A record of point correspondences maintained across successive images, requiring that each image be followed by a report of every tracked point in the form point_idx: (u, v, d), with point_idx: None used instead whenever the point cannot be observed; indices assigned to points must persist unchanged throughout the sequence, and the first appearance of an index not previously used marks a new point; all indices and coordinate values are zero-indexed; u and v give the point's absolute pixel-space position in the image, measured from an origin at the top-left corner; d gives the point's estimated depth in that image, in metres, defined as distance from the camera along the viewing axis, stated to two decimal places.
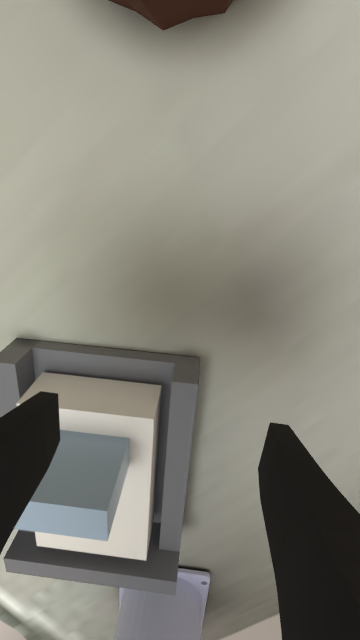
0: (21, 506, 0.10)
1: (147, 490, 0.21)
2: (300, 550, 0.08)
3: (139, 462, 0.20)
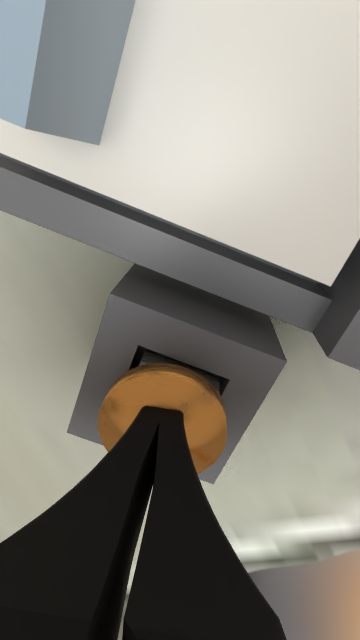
0: (140, 524, 0.10)
1: None
2: None
3: None
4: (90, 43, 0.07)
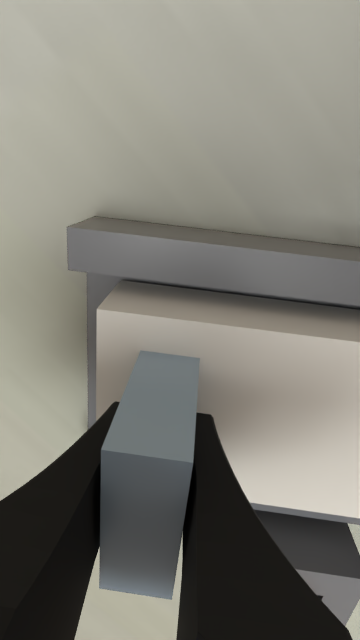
0: None
1: (262, 333, 0.11)
2: (190, 533, 0.08)
3: (194, 341, 0.11)
4: None
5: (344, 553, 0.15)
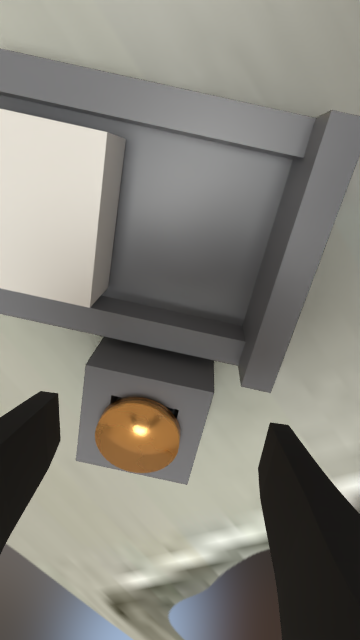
0: (21, 506, 0.10)
1: None
2: (300, 550, 0.08)
3: None
4: None
5: (201, 378, 0.18)
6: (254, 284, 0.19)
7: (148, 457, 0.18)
